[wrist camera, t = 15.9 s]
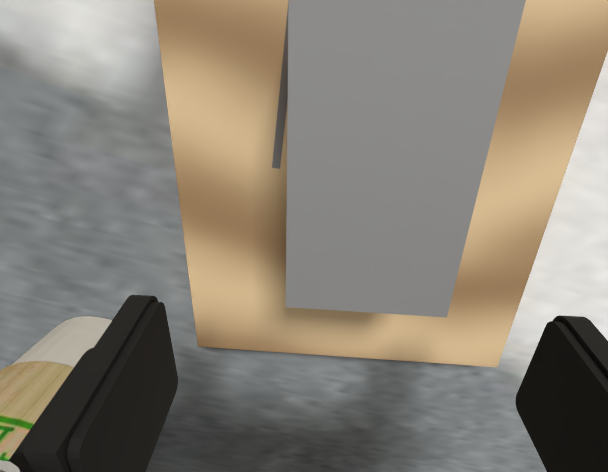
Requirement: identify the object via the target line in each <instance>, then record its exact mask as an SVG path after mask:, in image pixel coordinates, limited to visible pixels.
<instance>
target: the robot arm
mask: <svg viewBox="0 0 608 472" xmlns="http://www.w3.org/2000/svg"><path fill="white" fill-rule="evenodd" d="M177 385H178V376H177V371H176V365H175V360H174V354H173V349H172V343H171V338H170V332H169V327H168V321H167V316H166V310H165V306H164V304H163V303H162V302H158V300H157V298H156V297H155V296H143V295H131V296H129V297H128V298H127V300H126V301H125V303H124V304H123V306H122V307H121V309H120V310H119V311H118V313H117V314H116V316H115V317H114V319H113V320H112V322H111V323H110V325H109V326H108V327H107V329H106V330H105V332H104V333H103V335H102V336H101V338H100V339H99V341H98V342H97V344H96V345H95V346H94V348H91V349H89V350H87V351H86V352H85V353H84V354H83V355H82V357H81V358H80V360H79V361H78V362H77V364H76V365H75V367H74V368H73V370H72V371H71V372H70V374H69V375H68V377H67V378H66V379H65V381H64V382H63V384H62V385H61V387H60V388H59V389H58V391H57V392H56V394H55V395H54V397H53V398H52V399H51V401H50V402H49V404H48V405H47V406H46V408H45V409H44V411H43V412H42V414H41V415H40V416H39V418H38V419H37V421H36V422H35V424H34V425H33V426H32V428H31V429H30V431H29V432H28V434H27V435H26V436H25V438H24V439H23V441H22V442H21V443H20V445H19V446H18V448H17V449H16V451H15V452H14V453H13V455H12V456H11V458H10V459H9V461H2V460H0V472H145V471H146V468H147V466H148V463H149V460H150V458H151V455H152V453H153V450H154V448H155V445H156V442H157V440H158V437H159V435H160V432H161V430H162V427H163V424H164V422H165V419H166V417H167V414H168V412H169V409H170V406H171V404H172V401H173V399H174V396H175V393H176V390H177ZM516 407H517V410H518V413H519V415H520V417H521V419H522V421H523V423H524V425H525V427H526V429H527V431H528V433H529V435H530V437H531V440H532V442H533V444H534V446H535V448H536V450H537V452H538V454H539V456H540V458H541V460H542V462H543V464H544V466H545V468H546V470H547V472H608V341H607V340H606V338H605V337H604V336H603V335H602V334H601V333H600V332H599V330H598V329H597V328H596V327H595V326H594V325H593V323H592V322H591V321H590V320H589V319H587V318H585V317H576V316H557V317H556V318H554V320H553V321H552V322H549V323H547V325H546V327H545V329H544V332H543V334H542V336H541V339H540V341H539V343H538V346H537V348H536V351H535V353H534V355H533V358H532V360H531V362H530V365H529V367H528V369H527V372H526V374H525V376H524V379H523V381H522V384H521V386H520V388H519V391H518V393H517V396H516Z"/></svg>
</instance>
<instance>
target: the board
mask: <svg viewBox="0 0 608 472" xmlns="http://www.w3.org/2000/svg"><path fill="white" fill-rule="evenodd" d="M154 4H155V12H156V20H157V28H158V36H159V44H160V52H161V59H162V67H163V75H164V83H165V91H166V99H167V107H168V115H169V122H170V130H171V138H172V146H173V154H174V162H175V170H176V177H177V185H178V193H179V201H180V209H181V217H182V225H183V232H184V240H185V248H186V256H187V264H188V272H189V280H190V288H191V295H192V303H193V311H194V319H195V327H196V335H197V343H198V346H200V347H214V348H228V349H243V350H257V351H272V352H286V353H300V354H315V355H329V356H343V357H358V358H372V359H387V360H401V361H415V362H430V363H444V364H459V365H473V366H487V367H497V366H498V363H499V361H500V358H501V355H502V352H503V349H504V346H505V343H506V340H507V338H508V335H509V332H510V329H511V326H512V323H513V320H514V318H515V315H516V312H517V309H518V306H519V303H520V300H521V298H522V295H523V292H524V289H525V286H526V283H527V280H528V277H529V275H530V272H531V269H532V266H533V263H534V260H535V257H536V255H537V252H538V249H539V246H540V243H541V240H542V237H543V235H544V232H545V229H546V226H547V223H548V220H549V217H550V214H551V212H552V209H553V206H554V203H555V200H556V197H557V194H558V192H559V189H560V186H561V183H562V180H563V177H564V174H565V172H566V169H567V166H568V163H569V160H570V157H571V154H572V151H573V149H574V146H575V143H576V140H577V137H578V134H579V131H580V129H581V126H582V123H583V120H584V117H585V114H586V111H587V109H588V106H589V103H590V100H591V97H592V94H593V91H594V88H595V86H596V83H597V80H598V77H599V74H600V71H601V68H602V66H603V63H604V60H605V57H606V54H607V51H608V0H526V2H525V6H524V10H523V14H522V18H521V22H520V26H519V30H518V34H517V38H516V42H515V46H514V50H513V54H512V58H511V62H510V66H509V70H508V74H507V78H506V82H505V86H504V90H503V94H502V98H501V102H500V106H499V110H498V114H497V118H496V122H495V126H494V130H493V134H492V138H491V142H490V146H489V150H488V154H487V158H486V162H485V166H484V170H483V174H482V178H481V182H480V186H479V190H478V194H477V198H476V202H475V206H474V210H473V214H472V218H471V222H470V226H469V230H468V234H467V238H466V242H465V246H464V250H463V254H462V258H461V262H460V267H459V271H458V275H457V279H456V283H455V287H454V291H453V295H452V299H451V303H450V307H449V311H448V315H447V318H446V317H431V316H415V315H400V314H384V313H369V312H353V311H338V310H322V309H307V308H292V307H286V223H287V115H288V7H289V0H154Z"/></svg>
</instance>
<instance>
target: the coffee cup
mask: <svg viewBox="0 0 608 472" xmlns="http://www.w3.org/2000/svg"><path fill="white" fill-rule="evenodd" d="M111 322H112V320H109V319H105V318H100V317H90V316H84V317H75V318H72V319H69V320H66V321H64V322H62V323H61V324H59V325H58V326H56V327H55V328H54V329H53V330H52V331H51V332H49V333H48V334H47V335H46V336H45V337H44V338H42V339H41V340H40V341H39V342H38V343H36V344H35V345H34V346H33V347H32V348H31V349H29V350H28V351H27V352H26V353H25V354H23V355H22V356H21V357H20V358H19V359H18V360H16V361H15V362H14V363H13V364H12V365H10V366H7V367H5V368H4V369H2V370H0V460H2V461H9V459H10V458H11V456H12V455H13V453H14V452H15V451H16V449H17V448H18V446H19V445H20V443H21V442H22V441H23V439H24V438H25V436H26V435H27V434H28V432H29V431H30V429H31V428H32V426H33V425H34V424H35V422H36V421H37V419H38V418H39V416H40V415H41V414H42V412H43V411H44V409H45V408H46V406H47V405H48V404H49V402H50V401H51V399H52V398H53V397H54V395H55V394H56V392H57V391H58V389H59V388H60V387H61V385H62V384H63V382H64V381H65V379H66V378H67V377H68V375H69V374H70V372H71V371H72V370H73V368H74V367H75V365H76V364H77V362H78V361H79V360H80V358H81V357H82V355H83V354H84V353H85V352H86V351H87V350H89V349H91V348H94V346H95V345H96V344H97V342H98V341H99V339H100V338H101V336H102V335H103V333H104V332H105V330H106V329H107V327H108V326H109V325H110V323H111Z"/></svg>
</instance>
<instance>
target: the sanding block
mask: <svg viewBox="0 0 608 472" xmlns="http://www.w3.org/2000/svg"><path fill="white" fill-rule="evenodd" d="M525 2H526V0H289V7H288V115H287V223H286V307H292V308H307V309H322V310H338V311H353V312H369V313H384V314H400V315H415V316H431V317H446V318H447V315H448V311H449V307H450V303H451V299H452V295H453V291H454V287H455V283H456V279H457V275H458V271H459V267H460V262H461V258H462V254H463V250H464V246H465V242H466V238H467V234H468V230H469V226H470V222H471V218H472V214H473V210H474V206H475V202H476V198H477V194H478V190H479V186H480V182H481V178H482V174H483V170H484V166H485V162H486V158H487V154H488V150H489V146H490V142H491V138H492V134H493V130H494V126H495V122H496V118H497V114H498V110H499V106H500V102H501V98H502V94H503V90H504V86H505V82H506V78H507V74H508V70H509V66H510V62H511V58H512V54H513V50H514V46H515V42H516V38H517V34H518V30H519V26H520V22H521V18H522V14H523V10H524V6H525Z"/></svg>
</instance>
